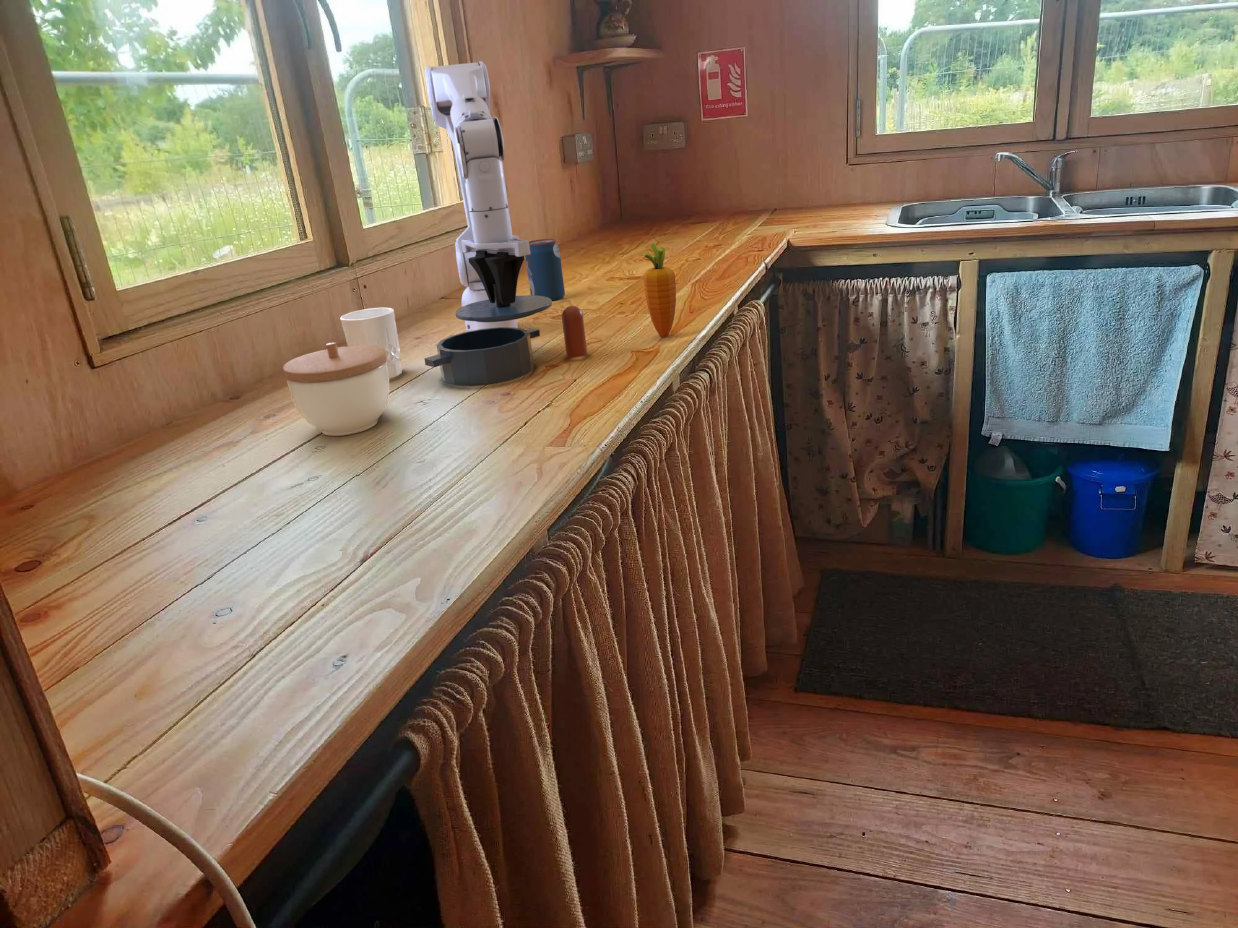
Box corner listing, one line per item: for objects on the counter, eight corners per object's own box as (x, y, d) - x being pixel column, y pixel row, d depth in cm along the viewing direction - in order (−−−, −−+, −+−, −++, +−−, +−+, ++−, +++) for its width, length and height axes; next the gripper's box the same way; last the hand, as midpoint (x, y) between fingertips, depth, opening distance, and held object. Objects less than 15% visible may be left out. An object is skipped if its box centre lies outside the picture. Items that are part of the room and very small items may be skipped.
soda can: (572, 298, 177) (565, 238, 173) (552, 306, 172) (544, 244, 167) (545, 297, 181) (537, 238, 176) (524, 305, 176) (516, 244, 171)
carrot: (677, 343, 136) (670, 245, 130) (646, 344, 137) (637, 247, 131) (681, 335, 140) (675, 240, 135) (651, 336, 141) (643, 242, 136)
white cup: (416, 370, 136) (404, 307, 132) (384, 386, 129) (370, 320, 126) (376, 369, 139) (363, 307, 135) (343, 384, 133) (328, 319, 129)
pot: (410, 384, 129) (403, 348, 127) (513, 353, 140) (508, 319, 138) (460, 399, 119) (453, 361, 117) (566, 365, 131) (561, 329, 128)
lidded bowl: (307, 452, 105) (285, 364, 101) (292, 425, 116) (272, 344, 112) (409, 427, 110) (392, 342, 106) (386, 403, 121) (369, 325, 117)
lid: (438, 319, 132) (432, 288, 131) (514, 300, 141) (510, 270, 139) (493, 329, 122) (488, 296, 120) (572, 307, 131) (568, 276, 129)
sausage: (562, 358, 134) (556, 307, 131) (578, 353, 136) (572, 303, 133) (575, 361, 132) (569, 309, 129) (591, 356, 134) (586, 304, 131)
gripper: (541, 205, 123) (553, 300, 128) (483, 205, 133) (496, 293, 138) (500, 212, 119) (515, 311, 124) (444, 211, 129) (459, 302, 134)
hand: (502, 302), depth 131 cm, fingers closed on lid, 2 cm apart
